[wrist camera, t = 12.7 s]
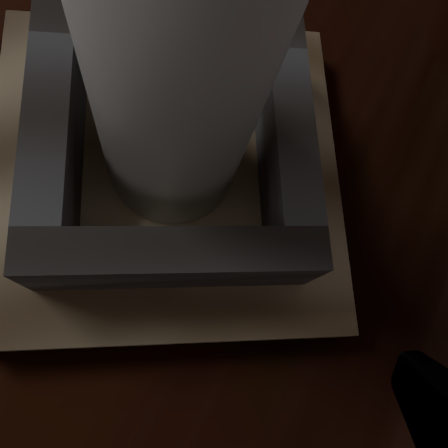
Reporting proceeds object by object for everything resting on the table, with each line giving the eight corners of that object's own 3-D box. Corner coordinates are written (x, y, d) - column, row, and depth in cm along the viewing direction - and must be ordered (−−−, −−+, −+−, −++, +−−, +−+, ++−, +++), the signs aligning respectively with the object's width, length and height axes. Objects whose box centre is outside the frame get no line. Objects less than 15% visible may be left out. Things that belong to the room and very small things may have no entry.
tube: (241, 229, 17) (461, -107, 5) (100, 229, 16) (-89, -180, 4) (234, 108, 18) (386, -383, 6) (106, 103, 18) (-16, -475, 5)
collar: (342, 337, 18) (400, 331, 14) (-19, 352, 16) (-85, 352, 11) (308, 53, 22) (345, -20, 18) (17, 34, 20) (-22, -54, 15)
